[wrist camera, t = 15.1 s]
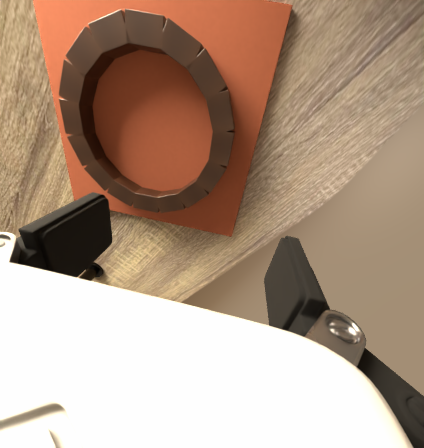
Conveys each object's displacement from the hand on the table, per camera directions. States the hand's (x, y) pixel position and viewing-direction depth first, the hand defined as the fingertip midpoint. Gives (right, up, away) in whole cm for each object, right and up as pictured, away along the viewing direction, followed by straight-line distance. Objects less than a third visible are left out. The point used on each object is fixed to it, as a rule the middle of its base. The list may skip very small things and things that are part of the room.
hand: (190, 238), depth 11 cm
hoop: (-6, +12, +15) cm, 20 cm away
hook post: (-23, -8, +30) cm, 38 cm away
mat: (-6, +13, +15) cm, 21 cm away
